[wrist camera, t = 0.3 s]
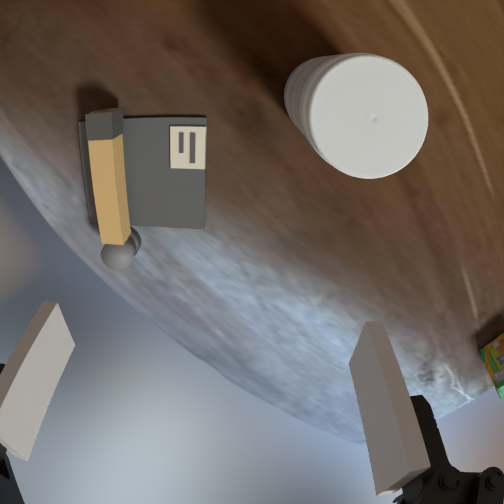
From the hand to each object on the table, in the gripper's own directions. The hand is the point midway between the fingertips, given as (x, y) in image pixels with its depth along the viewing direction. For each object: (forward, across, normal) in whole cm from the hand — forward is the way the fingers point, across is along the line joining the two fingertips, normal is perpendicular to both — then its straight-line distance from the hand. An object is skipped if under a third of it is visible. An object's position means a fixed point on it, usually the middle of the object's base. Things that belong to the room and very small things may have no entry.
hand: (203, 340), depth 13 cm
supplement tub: (+28, +10, +8) cm, 30 cm away
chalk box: (+28, +61, -36) cm, 76 cm away
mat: (+27, -12, -2) cm, 30 cm away
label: (+27, -6, +1) cm, 28 cm away
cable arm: (+26, -15, -4) cm, 30 cm away
